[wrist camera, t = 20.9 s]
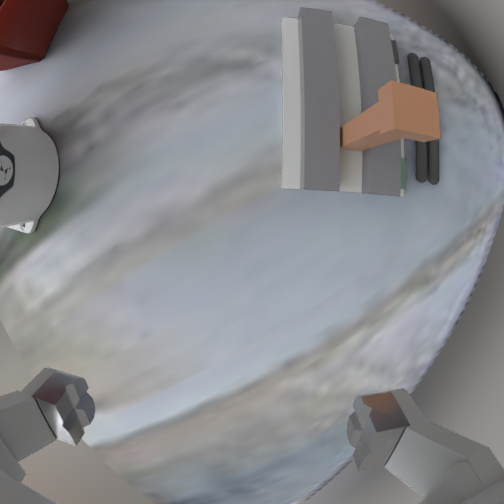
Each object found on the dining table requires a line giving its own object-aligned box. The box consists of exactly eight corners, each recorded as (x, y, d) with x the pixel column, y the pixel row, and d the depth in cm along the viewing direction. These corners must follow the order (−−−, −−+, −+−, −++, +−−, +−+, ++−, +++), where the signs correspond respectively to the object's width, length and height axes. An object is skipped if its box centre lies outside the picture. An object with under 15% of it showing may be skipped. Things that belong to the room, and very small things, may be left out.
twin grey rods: (413, 181, 33) (419, 182, 32) (405, 54, 29) (409, 50, 27) (434, 185, 33) (441, 185, 32) (426, 60, 29) (431, 57, 27)
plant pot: (26, 8, 25) (-19, -17, 9) (90, -13, 26) (45, -56, 10) (-7, 86, 30) (-64, 74, 13) (50, 75, 30) (-19, 47, 14)
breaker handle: (333, 153, 32) (394, 128, 16) (332, 124, 31) (390, 80, 15) (364, 156, 32) (440, 138, 16) (363, 128, 31) (436, 92, 15)
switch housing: (281, 188, 34) (284, 188, 30) (281, 21, 29) (283, 6, 25) (400, 196, 34) (415, 198, 30) (390, 38, 29) (401, 27, 25)
